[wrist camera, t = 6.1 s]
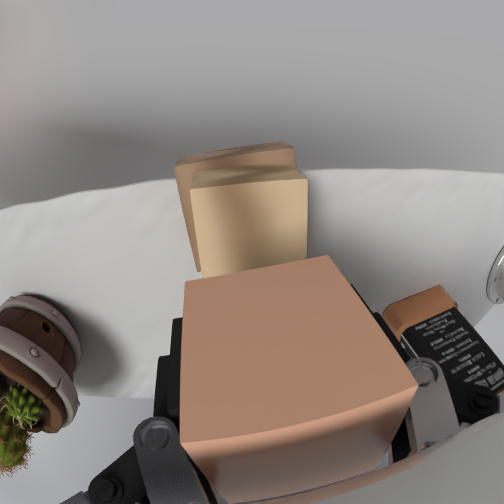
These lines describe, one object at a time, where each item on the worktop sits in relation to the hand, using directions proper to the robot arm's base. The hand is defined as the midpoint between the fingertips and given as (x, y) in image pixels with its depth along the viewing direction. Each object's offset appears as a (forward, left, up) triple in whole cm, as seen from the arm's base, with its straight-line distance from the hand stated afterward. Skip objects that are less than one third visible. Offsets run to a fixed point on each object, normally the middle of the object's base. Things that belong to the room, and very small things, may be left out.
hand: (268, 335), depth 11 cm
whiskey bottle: (-21, +21, -18) cm, 35 cm away
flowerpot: (+26, +11, -18) cm, 33 cm away
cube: (-1, 0, -14) cm, 14 cm away
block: (0, 0, -1) cm, 1 cm away
